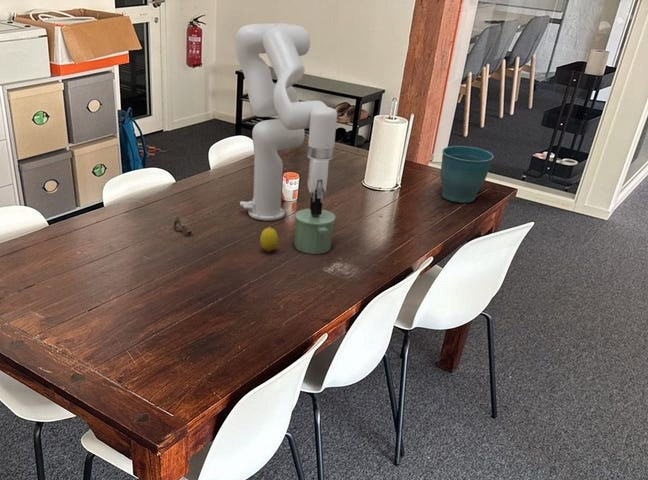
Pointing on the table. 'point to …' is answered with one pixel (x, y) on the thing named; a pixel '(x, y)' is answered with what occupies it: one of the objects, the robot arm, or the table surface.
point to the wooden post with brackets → (188, 232)
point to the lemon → (269, 239)
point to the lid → (315, 217)
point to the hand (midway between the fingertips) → (315, 211)
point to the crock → (313, 237)
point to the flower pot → (463, 172)
